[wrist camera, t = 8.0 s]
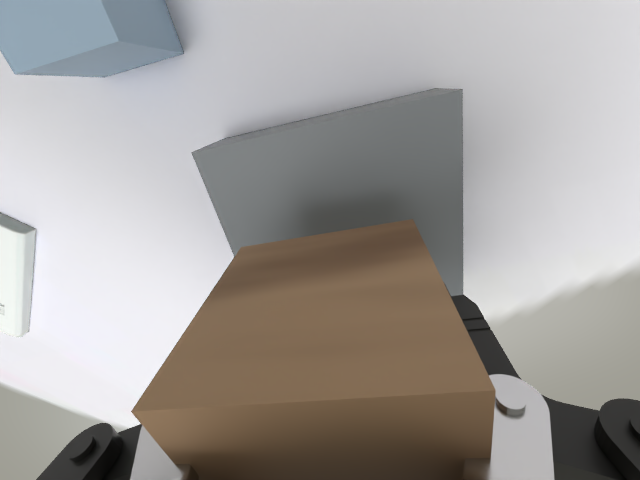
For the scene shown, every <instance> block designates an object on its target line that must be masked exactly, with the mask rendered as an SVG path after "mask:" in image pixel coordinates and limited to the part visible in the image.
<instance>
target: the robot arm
mask: <svg viewBox="0 0 640 480" xmlns="http://www.w3.org/2000/svg"><path fill="white" fill-rule="evenodd" d="M444 284H445V283H444ZM445 286H446V285H445ZM446 288H447V287H446ZM447 291H448V289H447ZM448 293H449V291H448ZM449 295H450V293H449ZM450 297H451V299H452V301H453V303H454V305H455V307H456V309H457V311H458V313H459V315H460V317H461V319H462V322H463V324H464V326H465V328H466V330H467V332H468V334H469V336H470V338H471V340H472V342H473V344H474V346H475V348H476V350H477V353H478V355H479V357H480V359H481V361H482V363H483V365H484V367H485V369H486V371H487V373H488V375H489V377H490V379H491V381H492V384H493V386H494V388H495V390H496V394H495V408H494V422H493V436H492V450H491V458H465V466H464V473H463V478H462V480H640V401H638V400H632V399H614V400H610V401H608V402H606V403H605V404H604V405H603V406H602V407H601V409H600V411H598V410H593V409H588V408H584V407H579V406H574V405H570V404H566V403H562V402H558V401H555V400H552V399H549V398H547V397H545V396H543V395H541V394H540V393H539V392H538V391H537V390H536V389H535V388H534V387H532V386H531V385H530V384H528V383H526V382H525V381H523V380H522V379H521V378H520V377H519V376H518V374H517V373H516V371H515V370H514V368H513V366H512V364H511V363H510V361H509V359H508V358H507V356H506V354H505V352H504V351H503V349H502V347H501V346H500V344H499V342H498V340H497V339H496V337H495V335H494V334H493V332H492V331H491V330H490V327H489V325H488V323H487V322H486V320H484V317H483V315H482V313H481V311H480V310H479V308H478V306H477V305H476V304H475V303H474V302H472V301H471V300H470V299H468V298H467V297H466V296H464V295H456V296H451V295H450ZM36 480H199V475H198V474H197V472H196V471H195V470H194V469H193V467H192V466H191V465H190V464H174V463H173V462H172V460H171V459H170V458H169V457H168V456H167V454H166V453H165V452H164V451H163V450H162V448H161V447H160V446H159V445H158V444H157V442H156V441H155V440H154V439H153V437H152V436H151V435H150V434H149V433H148V431H147V430H146V429H145V428H144V427H143V425H142V424H140V425H137V426H135V427H132V428H129V429H127V430H124V431H121V432H119V433H117V432H116V431H115V430H114V428H113V427H112V426H111V425H110V424H107V423H100V424H97V425H94V426H92V427H90V428H88V429H86V430H84V431H83V432H81V433H80V434H79V435H77V436H76V437H75V438H74V439H73V440H72V441H71V442H70V443H69V444H68V445H67V446H66V447H65V448H64V449H63V450H62V451H61V453H60V454H59V455H58V456H57V457H56V458H55V459H54V460H53V461H52V463H51V464H50V465H49V466H48V467H47V468H46V469H45V471H44V472H43V473H42V474H41V475H40V476H39V477H38V478H37V479H36Z"/></svg>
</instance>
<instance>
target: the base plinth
mask: <svg viewBox="0 0 640 480" xmlns="http://www.w3.org/2000/svg"><path fill="white" fill-rule="evenodd" d="M192 155H193V157H194V160H195V162H196V165H197V167H198V169H199V172H200V174H201V177H202V179H203V181H204V184H205V186H206V189H207V191H208V194H209V196H210V198H211V201H212V203H213V206H214V208H215V211H216V213H217V215H218V218H219V220H220V223H221V225H222V228H223V230H224V232H225V235H226V237H227V240H228V242H229V244H230V247H231V249H232V252H233V254H234V257H235V256H236V254H237V253H238V251H239V250H240V248H241V247H245V246H251V245H257V244H263V243H269V242H275V241H281V240H288V239H294V238H300V237H306V236H312V235H318V234H324V233H330V232H337V231H343V230H349V229H355V228H361V227H367V226H373V225H379V224H386V223H392V222H398V221H404V220H410V219H413V220H414V222H415V224H416V226H417V229H418V231H419V233H420V235H421V237H422V239H423V241H424V243H425V245H426V247H427V249H428V251H429V253H430V255H431V257H432V260H433V262H434V264H435V266H436V268H437V270H438V272H439V274H440V276H441V278H442V280H443V282H444V283H445V285H446V287H447V289H448V291H449V293H450V295H451V296H456V295H463V117H462V89H437V88H435V89H431V90H427V91H423V92H419V93H414V94H410V95H406V96H402V97H398V98H393V99H389V100H385V101H381V102H377V103H372V104H368V105H364V106H360V107H356V108H351V109H347V110H343V111H339V112H335V113H330V114H326V115H322V116H318V117H314V118H309V119H305V120H301V121H297V122H292V123H288V124H284V125H280V126H276V127H271V128H267V129H263V130H259V131H255V132H250V133H246V134H242V135H238V136H234V137H229V138H225V139H222V140H220V141H217V142H215V143H213V144H210V145H208V146H206V147H203V148H201V149H199V150H196V151H194V152H192Z"/></svg>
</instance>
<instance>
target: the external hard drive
mask: <svg viewBox="0 0 640 480" xmlns="http://www.w3.org/2000/svg"><path fill="white" fill-rule="evenodd" d="M35 238H36V229H35V228H33V227H31V226H28V225H26V224H24V223H22V222H20V221H18V220H15V219H13V218H11V217H9V216H7V215H5V214H2V213H0V332H3V333H5V334H7V335H10V336H13V337H22V336H24V335H25V334H26V333H27V332H29V323H30V311H31V297H32V282H33V268H34V253H35Z"/></svg>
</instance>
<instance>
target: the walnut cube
mask: <svg viewBox="0 0 640 480" xmlns="http://www.w3.org/2000/svg"><path fill="white" fill-rule="evenodd" d="M495 394H496V390H495V388H494V386H493V384H492V381H491V379H490V377H489V375H488V373H487V371H486V369H485V367H484V365H483V363H482V361H481V359H480V357H479V355H478V353H477V350H476V348H475V346H474V344H473V342H472V340H471V338H470V336H469V334H468V332H467V330H466V328H465V326H464V324H463V322H462V319H461V317H460V315H459V313H458V311H457V309H456V307H455V305H454V303H453V301H452V299H451V297H450V295H449V293H448V291H447V288H446V286H445V284H444V282H443V280H442V278H441V276H440V274H439V272H438V270H437V268H436V266H435V264H434V262H433V260H432V257H431V255H430V253H429V251H428V249H427V247H426V245H425V243H424V241H423V239H422V237H421V235H420V233H419V231H418V229H417V226H416V224H415V222H414V220H413V219H410V220H404V221H398V222H392V223H386V224H379V225H373V226H367V227H361V228H355V229H349V230H343V231H337V232H330V233H324V234H318V235H312V236H306V237H300V238H294V239H288V240H281V241H275V242H269V243H263V244H257V245H251V246H245V247H241V248H240V250H239V251H238V253H237V254H236V256H235V257H234V259H233V260H232V262H231V263H230V265H229V266H228V268H227V269H226V271H225V272H224V274H223V275H222V277H221V278H220V280H219V281H218V283H217V284H216V285H215V287H214V288H213V290H212V291H211V293H210V294H209V296H208V297H207V299H206V300H205V302H204V303H203V305H202V306H201V308H200V309H199V311H198V312H197V314H196V315H195V317H194V318H193V320H192V321H191V323H190V324H189V326H188V327H187V329H186V330H185V332H184V333H183V335H182V336H181V338H180V339H179V341H178V342H177V344H176V345H175V347H174V348H173V350H172V351H171V353H170V354H169V356H168V357H167V359H166V360H165V362H164V363H163V365H162V366H161V368H160V369H159V371H158V372H157V374H156V375H155V377H154V378H153V380H152V381H151V383H150V384H149V386H148V387H147V389H146V390H145V392H144V393H143V395H142V396H141V398H140V399H139V401H138V402H137V404H136V405H135V407H134V408H133V410H132V411H131V412H132V413H133V414H134V416H135V417H136V418H137V419H138V420H139V422H140V423H141V424H142V425H143V427H144V428H145V429H146V430H147V431H148V433H149V434H150V435H151V436H152V437H153V439H154V440H155V441H156V442H157V444H158V445H159V446H160V447H161V448H162V450H163V451H164V452H165V453H166V454H167V456H168V457H169V458H170V459H171V460H172V462H173V463H174V464H190V465H191V466H192V467H193V469H194V470H195V471H196V472H197V474H198V475H199V480H462V478H463V473H464V466H465V458H491V450H492V436H493V422H494V408H495Z"/></svg>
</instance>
